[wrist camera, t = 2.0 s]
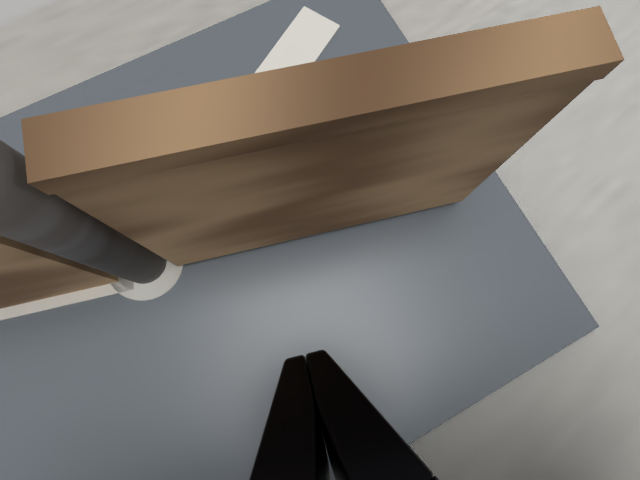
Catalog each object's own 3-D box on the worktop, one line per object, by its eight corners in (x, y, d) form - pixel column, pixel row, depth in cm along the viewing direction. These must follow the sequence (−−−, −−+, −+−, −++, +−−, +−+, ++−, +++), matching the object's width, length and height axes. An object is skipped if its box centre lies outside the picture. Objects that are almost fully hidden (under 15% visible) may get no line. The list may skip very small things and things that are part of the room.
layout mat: (592, 327, 16) (601, 326, 16) (-8, 696, 13) (-20, 710, 13) (354, -29, 20) (356, -39, 19) (-168, 199, 17) (-183, 194, 16)
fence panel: (177, 268, 16) (27, 183, 7) (172, 236, 16) (20, 119, 7) (462, 203, 16) (623, 59, 8) (453, 174, 17) (600, 6, 8)
